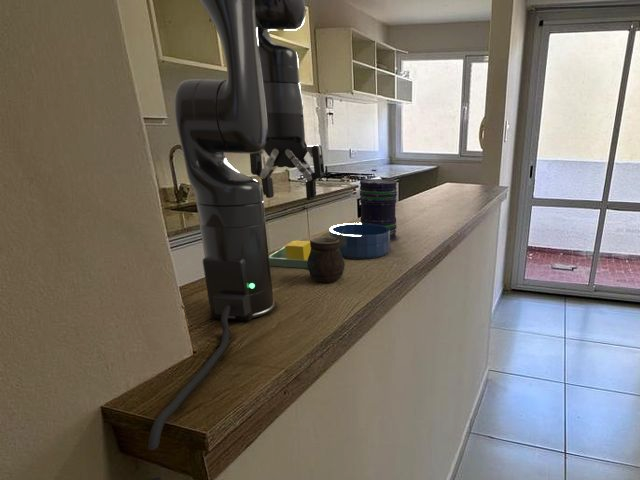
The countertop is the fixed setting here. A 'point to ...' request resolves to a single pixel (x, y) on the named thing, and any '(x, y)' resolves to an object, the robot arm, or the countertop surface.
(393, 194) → the storage jar
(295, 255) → the sponge
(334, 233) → the bowl
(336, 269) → the mate gourd
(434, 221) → the countertop surface
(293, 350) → the countertop surface
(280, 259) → the soap dish
